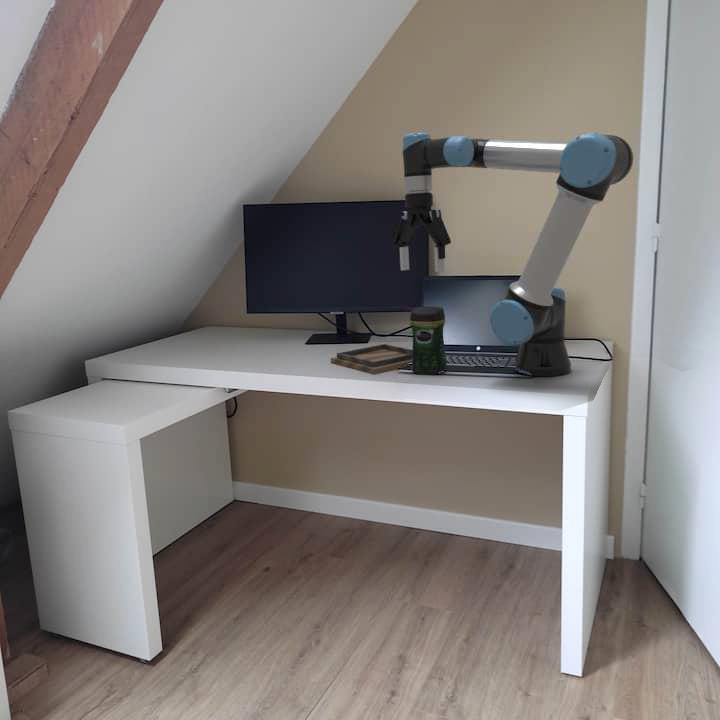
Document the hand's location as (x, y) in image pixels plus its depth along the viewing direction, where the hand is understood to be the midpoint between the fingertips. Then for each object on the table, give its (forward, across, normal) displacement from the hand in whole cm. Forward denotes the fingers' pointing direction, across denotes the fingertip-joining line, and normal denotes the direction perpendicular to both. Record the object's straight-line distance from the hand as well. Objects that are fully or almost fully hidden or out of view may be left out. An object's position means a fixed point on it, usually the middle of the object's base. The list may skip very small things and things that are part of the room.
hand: (422, 270), depth 204 cm
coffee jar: (+28, -3, +2) cm, 29 cm away
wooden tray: (+28, +17, +2) cm, 33 cm away
